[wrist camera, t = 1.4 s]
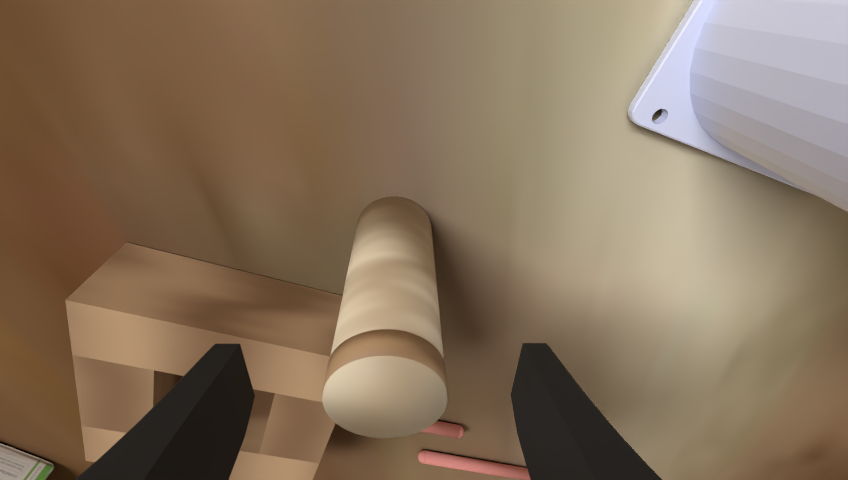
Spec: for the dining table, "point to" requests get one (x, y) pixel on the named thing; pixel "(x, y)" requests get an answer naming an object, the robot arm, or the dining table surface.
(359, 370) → the tan round log
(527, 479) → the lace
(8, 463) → the syrup box
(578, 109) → the dining table surface
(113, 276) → the wooden square frame
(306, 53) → the dining table surface
